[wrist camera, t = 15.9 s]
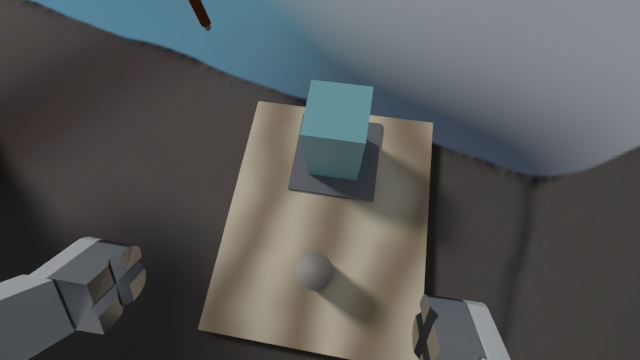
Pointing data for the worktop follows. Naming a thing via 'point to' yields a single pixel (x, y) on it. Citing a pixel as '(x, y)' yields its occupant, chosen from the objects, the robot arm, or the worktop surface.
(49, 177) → the worktop surface
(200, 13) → the magnifying glass
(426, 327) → the robot arm
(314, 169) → the teal pillar
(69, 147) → the worktop surface
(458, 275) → the worktop surface
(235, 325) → the post board
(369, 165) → the pad
